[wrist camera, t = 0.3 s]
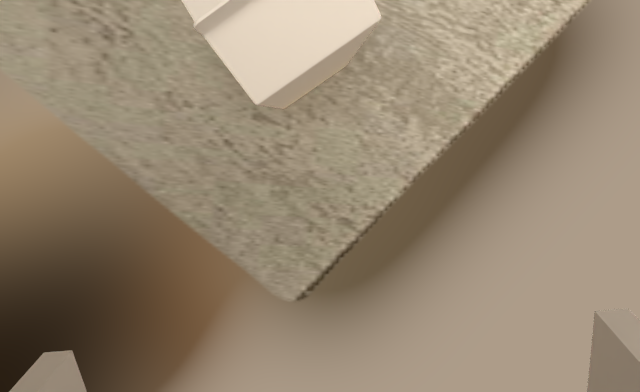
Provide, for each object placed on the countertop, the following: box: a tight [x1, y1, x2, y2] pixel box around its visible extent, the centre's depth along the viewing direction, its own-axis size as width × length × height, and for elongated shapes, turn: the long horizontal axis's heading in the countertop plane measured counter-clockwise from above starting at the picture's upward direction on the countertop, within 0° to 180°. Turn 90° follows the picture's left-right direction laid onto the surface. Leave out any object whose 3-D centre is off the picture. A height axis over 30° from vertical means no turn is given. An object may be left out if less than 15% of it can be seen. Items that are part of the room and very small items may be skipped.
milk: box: [181, 0, 381, 109], centre depth 26 cm, size 6×6×22 cm
